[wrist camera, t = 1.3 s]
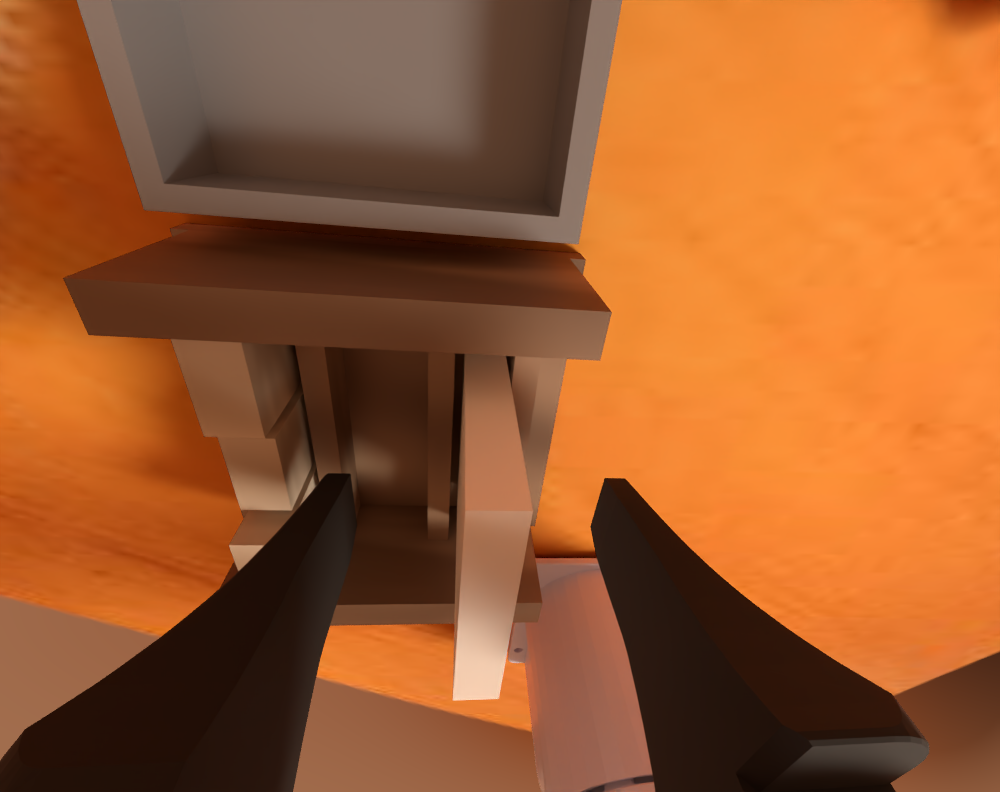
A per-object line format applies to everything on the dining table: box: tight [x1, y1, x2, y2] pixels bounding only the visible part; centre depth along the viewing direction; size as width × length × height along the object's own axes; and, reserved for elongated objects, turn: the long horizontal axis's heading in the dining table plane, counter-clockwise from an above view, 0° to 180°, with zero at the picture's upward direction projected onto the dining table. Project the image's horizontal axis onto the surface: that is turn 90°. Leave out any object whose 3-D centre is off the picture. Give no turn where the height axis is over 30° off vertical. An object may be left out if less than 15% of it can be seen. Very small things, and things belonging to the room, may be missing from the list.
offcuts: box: [171, 339, 319, 571], centre depth 14 cm, size 9×2×4 cm, turn 175°
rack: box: [63, 223, 612, 625], centre depth 14 cm, size 12×12×5 cm
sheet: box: [453, 354, 533, 700], centre depth 13 cm, size 7×1×8 cm, turn 175°
